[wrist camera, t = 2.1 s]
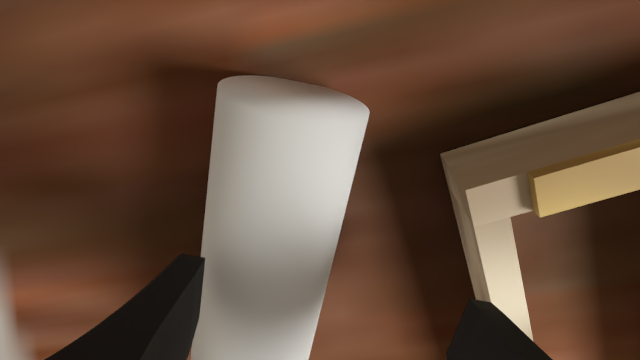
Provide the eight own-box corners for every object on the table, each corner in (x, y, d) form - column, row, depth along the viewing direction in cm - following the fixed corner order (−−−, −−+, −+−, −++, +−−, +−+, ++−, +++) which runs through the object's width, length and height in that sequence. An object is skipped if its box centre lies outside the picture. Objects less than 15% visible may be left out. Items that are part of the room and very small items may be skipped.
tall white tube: (322, 399, 15) (207, 439, 13) (277, 319, 18) (178, 341, 16) (400, 124, 11) (249, 120, 9) (324, 80, 14) (199, 70, 12)
